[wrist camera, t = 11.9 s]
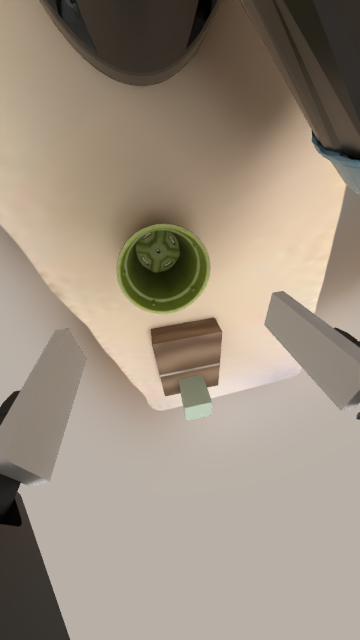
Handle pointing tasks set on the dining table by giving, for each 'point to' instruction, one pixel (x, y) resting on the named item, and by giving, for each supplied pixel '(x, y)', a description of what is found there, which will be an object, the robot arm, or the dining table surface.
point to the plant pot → (163, 268)
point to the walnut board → (187, 353)
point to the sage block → (195, 397)
